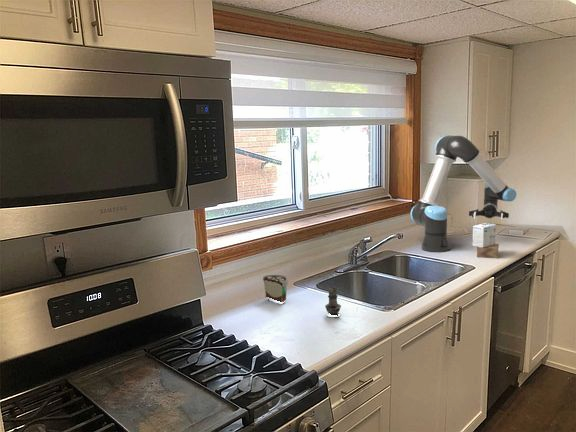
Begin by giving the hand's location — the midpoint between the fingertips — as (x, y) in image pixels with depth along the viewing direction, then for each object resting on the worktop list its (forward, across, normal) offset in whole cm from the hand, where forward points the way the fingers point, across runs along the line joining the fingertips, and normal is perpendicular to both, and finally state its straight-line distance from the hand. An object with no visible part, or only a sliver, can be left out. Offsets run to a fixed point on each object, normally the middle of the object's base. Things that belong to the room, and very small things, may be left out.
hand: (487, 216), depth 251 cm
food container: (+106, +73, -21) cm, 131 cm away
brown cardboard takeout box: (+12, -1, -18) cm, 22 cm away
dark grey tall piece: (+114, +47, -21) cm, 125 cm away
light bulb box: (+12, +1, -13) cm, 18 cm away
